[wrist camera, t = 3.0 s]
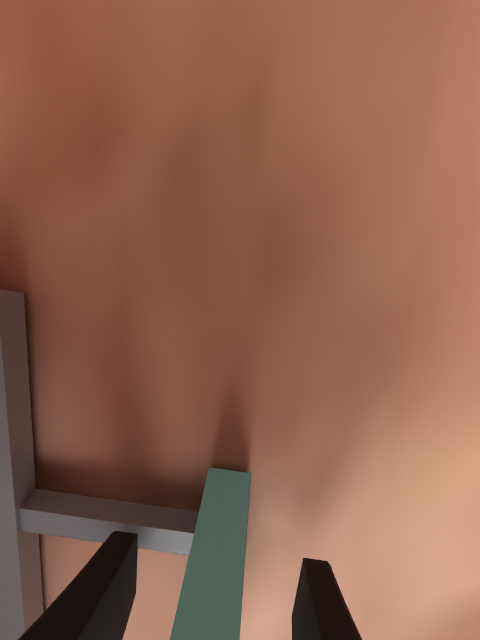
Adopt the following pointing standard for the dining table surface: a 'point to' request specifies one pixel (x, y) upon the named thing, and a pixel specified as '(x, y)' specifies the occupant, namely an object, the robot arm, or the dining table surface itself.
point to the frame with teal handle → (108, 517)
